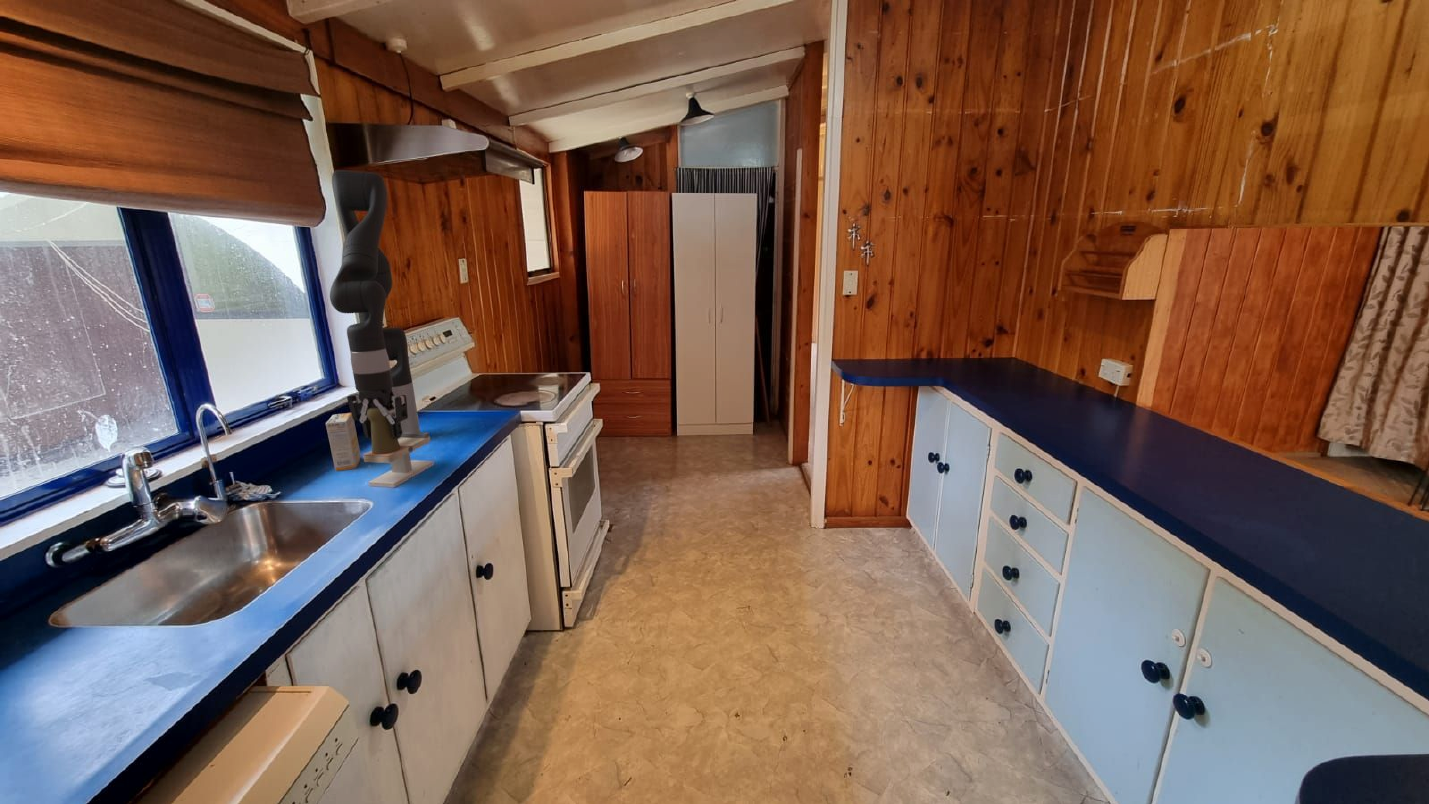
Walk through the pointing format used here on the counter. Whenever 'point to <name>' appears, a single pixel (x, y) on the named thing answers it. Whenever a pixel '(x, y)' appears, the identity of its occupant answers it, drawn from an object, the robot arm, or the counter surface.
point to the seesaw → (407, 445)
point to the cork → (381, 433)
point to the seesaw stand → (401, 472)
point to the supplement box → (343, 441)
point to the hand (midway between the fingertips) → (383, 437)
